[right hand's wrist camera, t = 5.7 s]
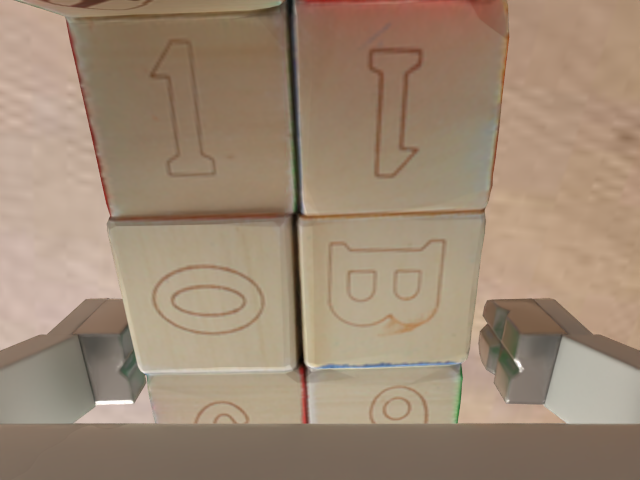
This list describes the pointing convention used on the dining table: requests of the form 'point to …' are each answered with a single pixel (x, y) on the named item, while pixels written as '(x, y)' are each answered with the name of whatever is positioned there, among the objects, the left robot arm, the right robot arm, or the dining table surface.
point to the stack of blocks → (295, 197)
